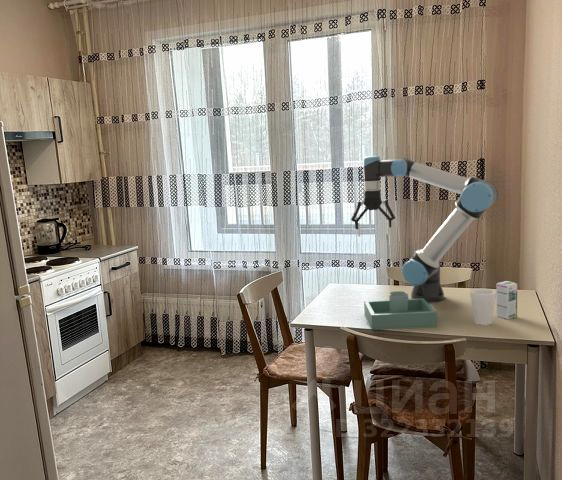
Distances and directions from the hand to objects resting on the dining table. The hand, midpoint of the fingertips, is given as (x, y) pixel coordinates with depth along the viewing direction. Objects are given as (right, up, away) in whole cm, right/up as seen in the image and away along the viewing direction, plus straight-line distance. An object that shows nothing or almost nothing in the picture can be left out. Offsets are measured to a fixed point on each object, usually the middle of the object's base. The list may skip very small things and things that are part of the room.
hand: (373, 235), depth 237 cm
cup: (+6, -35, -25) cm, 43 cm away
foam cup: (+38, -36, -33) cm, 62 cm away
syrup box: (+50, -34, -28) cm, 67 cm away
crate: (+6, -36, -24) cm, 44 cm away
